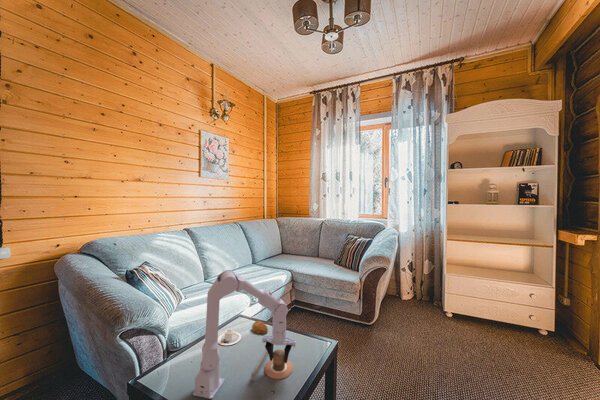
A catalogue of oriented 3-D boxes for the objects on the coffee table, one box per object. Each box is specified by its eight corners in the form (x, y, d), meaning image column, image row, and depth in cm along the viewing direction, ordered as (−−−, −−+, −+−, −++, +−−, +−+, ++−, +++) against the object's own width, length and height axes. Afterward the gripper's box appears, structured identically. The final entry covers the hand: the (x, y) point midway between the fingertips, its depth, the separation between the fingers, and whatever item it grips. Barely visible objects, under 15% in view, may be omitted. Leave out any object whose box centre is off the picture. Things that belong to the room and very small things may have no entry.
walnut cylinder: (282, 372, 102) (283, 357, 102) (271, 370, 103) (271, 356, 103) (286, 364, 107) (286, 350, 107) (275, 362, 108) (275, 348, 108)
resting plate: (288, 381, 98) (288, 379, 98) (260, 376, 100) (260, 374, 100) (295, 361, 109) (295, 360, 109) (270, 357, 112) (270, 356, 112)
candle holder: (230, 330, 134) (230, 322, 134) (246, 337, 127) (246, 329, 127) (212, 341, 124) (212, 332, 124) (227, 349, 118) (227, 341, 117)
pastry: (271, 331, 134) (271, 324, 133) (261, 336, 128) (261, 329, 128) (259, 325, 140) (259, 318, 139) (250, 330, 134) (250, 323, 134)
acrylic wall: (254, 381, 98) (254, 374, 97) (251, 380, 98) (251, 373, 98) (269, 352, 115) (269, 346, 115) (266, 352, 115) (266, 346, 115)
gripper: (297, 326, 107) (297, 356, 107) (266, 322, 110) (265, 352, 110) (294, 335, 100) (293, 368, 100) (260, 330, 103) (260, 362, 103)
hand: (278, 360), depth 105 cm, fingers open, 6 cm apart
